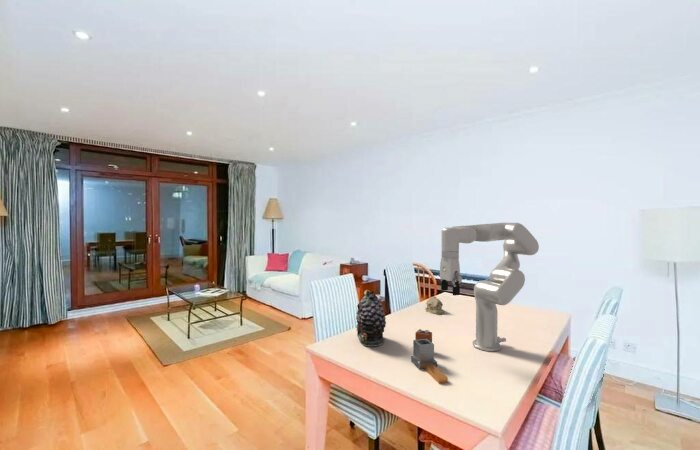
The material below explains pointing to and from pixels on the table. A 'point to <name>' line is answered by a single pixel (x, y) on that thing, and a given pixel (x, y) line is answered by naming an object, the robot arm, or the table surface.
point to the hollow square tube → (423, 350)
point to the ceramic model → (434, 306)
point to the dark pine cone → (370, 320)
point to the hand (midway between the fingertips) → (450, 292)
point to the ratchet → (431, 369)
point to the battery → (423, 335)
